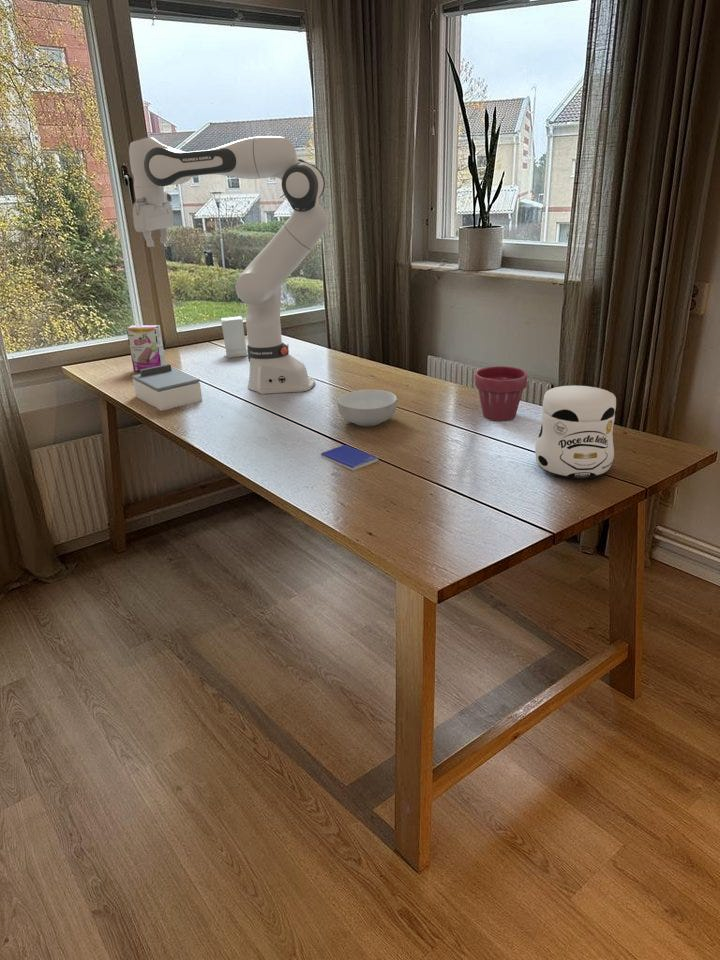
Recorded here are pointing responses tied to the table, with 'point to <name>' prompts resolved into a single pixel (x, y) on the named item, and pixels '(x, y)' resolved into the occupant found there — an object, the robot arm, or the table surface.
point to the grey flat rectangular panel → (164, 377)
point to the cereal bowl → (367, 406)
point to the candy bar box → (145, 346)
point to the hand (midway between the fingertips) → (157, 245)
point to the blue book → (349, 457)
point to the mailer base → (168, 395)
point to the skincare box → (234, 336)
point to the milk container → (576, 432)
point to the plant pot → (500, 391)
